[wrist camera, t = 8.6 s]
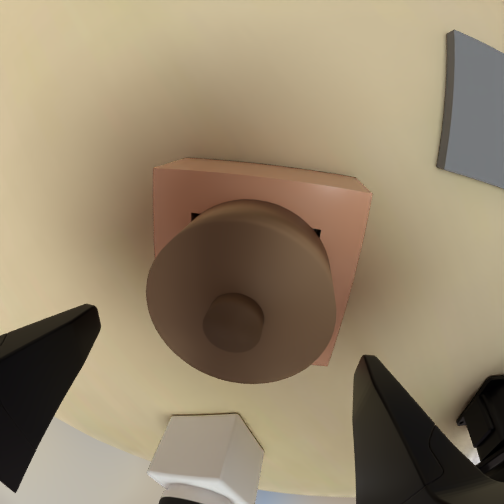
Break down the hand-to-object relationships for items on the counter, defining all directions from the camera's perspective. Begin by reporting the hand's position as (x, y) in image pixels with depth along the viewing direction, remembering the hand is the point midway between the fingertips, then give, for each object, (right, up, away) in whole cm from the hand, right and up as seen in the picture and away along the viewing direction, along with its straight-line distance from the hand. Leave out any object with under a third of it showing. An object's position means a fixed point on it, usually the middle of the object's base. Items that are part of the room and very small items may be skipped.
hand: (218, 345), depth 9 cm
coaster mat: (+15, +11, +2) cm, 19 cm away
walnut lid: (+1, +2, +4) cm, 5 cm away
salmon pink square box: (+1, +3, +8) cm, 9 cm away
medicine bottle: (-2, -15, +16) cm, 22 cm away
